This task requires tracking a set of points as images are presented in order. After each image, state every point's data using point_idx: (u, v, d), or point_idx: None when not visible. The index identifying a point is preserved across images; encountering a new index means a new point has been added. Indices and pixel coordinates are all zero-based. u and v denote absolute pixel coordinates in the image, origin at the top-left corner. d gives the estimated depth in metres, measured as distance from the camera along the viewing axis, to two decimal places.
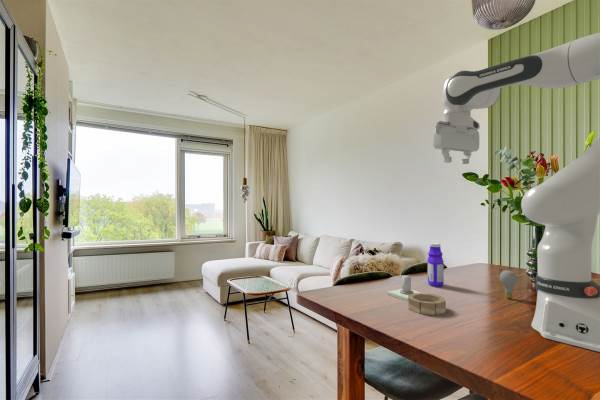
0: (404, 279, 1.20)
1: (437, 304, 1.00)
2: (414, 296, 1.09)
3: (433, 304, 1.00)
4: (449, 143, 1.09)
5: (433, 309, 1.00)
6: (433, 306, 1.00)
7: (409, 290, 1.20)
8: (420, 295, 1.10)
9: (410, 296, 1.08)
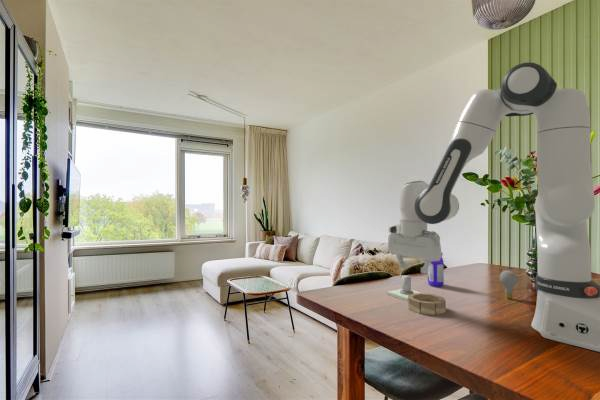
0: (404, 279, 1.20)
1: (437, 304, 1.00)
2: (414, 296, 1.09)
3: (433, 304, 1.00)
4: None
5: (433, 309, 1.00)
6: (433, 306, 1.00)
7: (409, 290, 1.20)
8: (420, 295, 1.10)
9: (410, 296, 1.08)
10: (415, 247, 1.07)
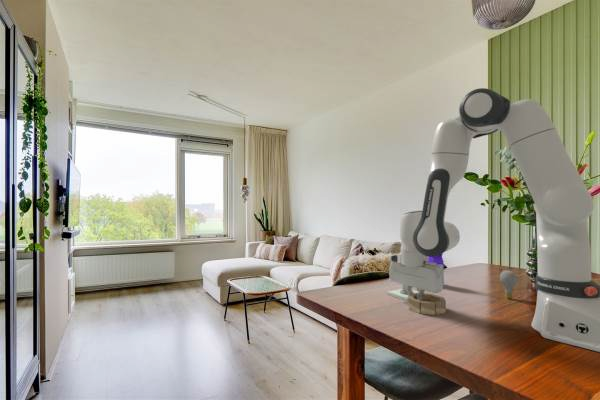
0: None
1: (437, 304, 1.00)
2: (414, 296, 1.09)
3: (433, 304, 1.00)
4: None
5: (433, 309, 1.00)
6: (433, 306, 1.00)
7: None
8: None
9: (410, 296, 1.08)
10: (417, 277, 1.07)
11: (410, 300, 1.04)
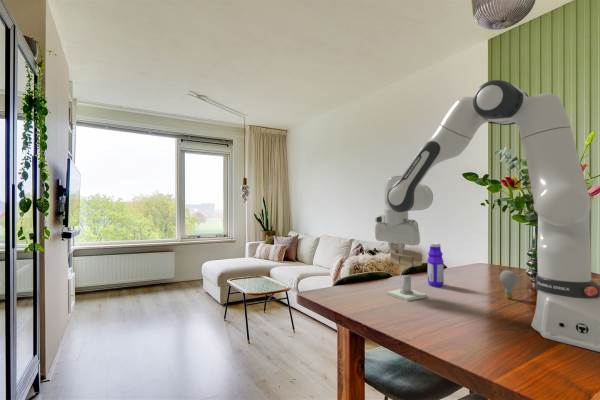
0: (404, 279, 1.20)
1: (414, 257, 1.15)
2: (396, 251, 1.24)
3: (411, 257, 1.15)
4: None
5: (410, 261, 1.15)
6: (411, 259, 1.15)
7: (409, 290, 1.20)
8: None
9: (392, 251, 1.23)
10: (398, 234, 1.22)
11: (392, 254, 1.20)
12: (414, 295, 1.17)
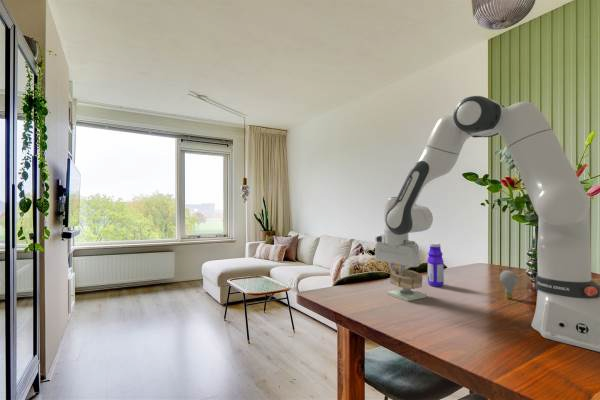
0: None
1: (414, 280, 1.15)
2: (396, 271, 1.24)
3: (411, 280, 1.15)
4: None
5: (410, 284, 1.15)
6: (411, 281, 1.15)
7: (409, 290, 1.20)
8: None
9: (392, 271, 1.23)
10: (398, 254, 1.22)
11: (392, 275, 1.20)
12: (414, 295, 1.17)
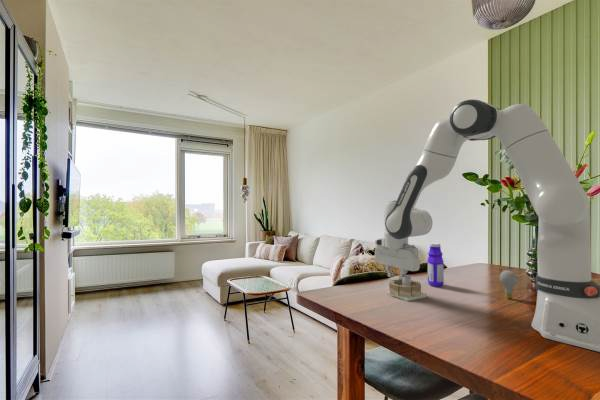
0: (404, 279, 1.20)
1: (413, 287, 1.16)
2: (395, 282, 1.25)
3: (410, 287, 1.16)
4: None
5: (410, 292, 1.16)
6: (410, 289, 1.16)
7: None
8: (400, 281, 1.26)
9: (391, 281, 1.23)
10: (397, 258, 1.22)
11: (390, 285, 1.20)
12: None
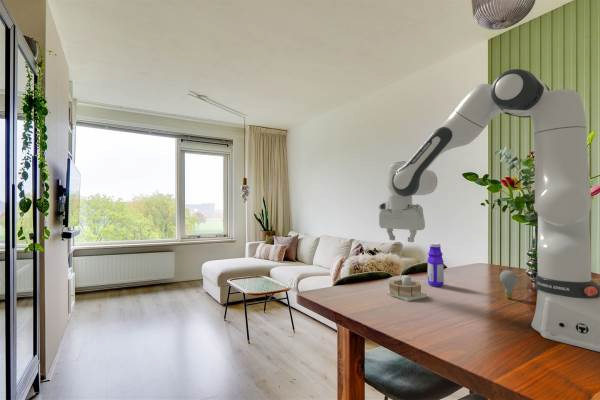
0: (404, 279, 1.20)
1: (413, 287, 1.16)
2: (395, 282, 1.25)
3: (410, 287, 1.16)
4: None
5: (410, 292, 1.16)
6: (410, 289, 1.16)
7: None
8: (400, 281, 1.26)
9: (391, 281, 1.23)
10: (402, 219, 1.21)
11: (390, 285, 1.20)
12: None
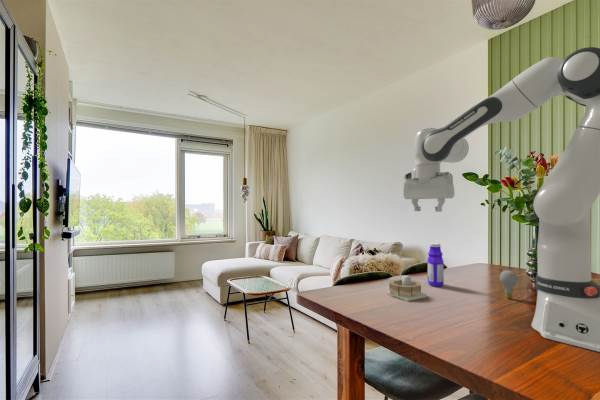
0: (404, 279, 1.20)
1: (413, 287, 1.16)
2: (395, 282, 1.25)
3: (410, 287, 1.16)
4: None
5: (410, 292, 1.16)
6: (410, 289, 1.16)
7: None
8: (400, 281, 1.26)
9: (391, 281, 1.23)
10: (430, 188, 1.17)
11: (390, 285, 1.20)
12: None
